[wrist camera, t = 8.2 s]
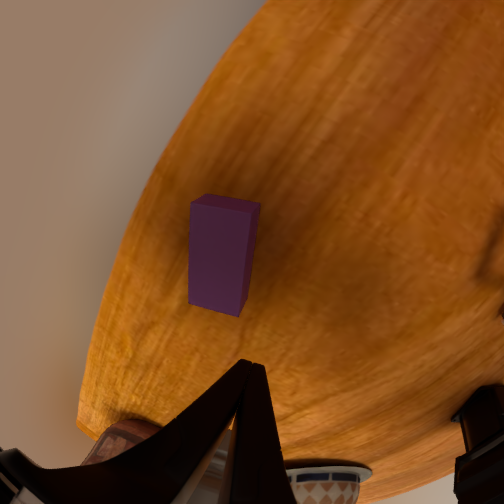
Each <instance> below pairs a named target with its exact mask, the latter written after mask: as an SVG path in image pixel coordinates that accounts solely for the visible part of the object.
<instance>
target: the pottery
mask: <svg viewBox="0 0 504 504" xmlns="http://www.w3.org/2000/svg"><path fill="white" fill-rule="evenodd" d="M160 429H161V428H159V427H157V426H155V425H153V424H150V423H148V422H146V421H142V420H138V419H130V420H122V421H119V422H117V423H114V424H112V425H111V426H110V427H108V428H107V429H106V430H105V431H104V432H103V434H102V435H101V436H100V438H99V439H98V441H97V442H96V444H95V446H94V447H93V449H92V450H91V452H90V453H89V454H88V456H87V457H86V458H85V460H84V461H83V462H82V464H81V465H80V466H82V465H89V464H95V463H99V462H103V461H105V460H108V459H110V458H113V457H115V456H117V455H119V454H120V453H122V452H124V451H126V450H128V449H130V448H131V447H133V446H135V445H137V444H139V443H140V442H142V441H144V440H145V439H147V438H148V437H150V436H152V435H153V434H155V433H156V432H158V431H159V430H160Z"/></svg>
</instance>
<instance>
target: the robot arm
mask: <svg viewBox="0 0 504 504" xmlns="http://www.w3.org/2000/svg"><path fill="white" fill-rule="evenodd" d="M235 413H236V414H235ZM234 416H235V418H234ZM233 418H234V422H233V427H232V433H231V438H230V443H229V448H228V453H227V458H226V463H225V468H224V473H223V478H222V482H221V487H220V492H219V497H218V502H217V504H298V503H297V501H296V498H295V496H294V493H293V490H292V488H291V485H290V482H289V479H288V476H287V473H286V468H285V464H284V460H283V455H282V451H281V446H280V441H279V436H278V431H277V426H276V421H275V416H274V411H273V406H272V401H271V396H270V391H269V386H268V381H267V375H266V370H265V366H264V365H261V364H258V363H253V364H252V362H251V361H248V360H245V359H240V360H239V361H238V362H237V363H236V364H235V365H234V366H232V367H231V368H230V369H229V370H228V371H227V372H226V373H225V374H224V375H223V376H222V377H221V378H220V379H219V380H217V381H216V382H215V383H214V384H213V385H212V386H211V387H210V388H209V389H208V390H206V391H205V392H204V393H203V394H202V395H201V396H200V397H199V398H197V399H196V400H195V401H194V402H193V403H192V404H191V405H189V406H188V407H187V408H186V409H185V410H184V411H182V412H181V413H180V414H179V415H178V416H177V417H176V418H174V419H173V420H172V421H170V422H169V423H168V424H167V425H165V426H164V427H163V428H162V429H160V430H159V431H158V432H156V433H155V434H153V435H152V436H150V437H148V438H147V439H145V440H144V441H142V442H140V443H139V444H137V445H135V446H133V447H131V448H130V449H128V450H126V451H124V452H122V453H120V454H119V455H117V456H115V457H113V458H110V459H108V460H105V461H103V462H99V463H95V464H89V465H82V466H75V467H68V468H59V469H44V468H42V467H40V466H39V465H38V464H36V463H35V462H34V461H32V460H31V459H30V458H29V457H27V456H26V455H25V454H24V453H22V452H21V451H20V450H18V449H17V448H13V449H9V450H5V451H4V450H3V449H2V448H1V447H0V504H186V503H187V501H188V500H189V498H190V496H191V495H192V493H193V491H194V490H195V488H196V486H197V485H198V483H199V481H200V479H201V478H202V476H203V474H204V472H205V471H206V469H207V467H208V465H209V463H210V462H211V460H212V458H213V456H214V454H215V453H216V451H217V449H218V447H219V445H220V443H221V441H222V440H223V438H224V436H225V434H226V432H227V430H228V428H229V426H230V424H231V422H232V420H233ZM451 422H460V424H461V429H462V434H463V438H464V443H465V449H466V453H465V454H463V455H462V456H458V457H457V458H456V463H455V475H454V490H453V492H454V494H456V497H457V499H458V504H504V386H498V387H481V388H479V389H478V390H477V391H476V392H475V393H474V394H473V396H472V397H471V398H470V399H469V400H468V401H467V402H466V403H465V404H464V406H463V407H462V408H461V409H460V410H459V411H458V412H457V413H456V414H455V415H454V416H453V417H452V418H451Z"/></svg>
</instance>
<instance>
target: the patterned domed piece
mask: <svg viewBox="0 0 504 504" xmlns="http://www.w3.org/2000/svg"><path fill="white" fill-rule="evenodd" d="M286 473H287V476H288V479H289V482H290V485H291V488H292V490H293V493H294V496H295V498H296V501H297V503H298V504H356V502H357V499H358V496H359V491H360V484H359V483H361V482H363V481H365V480H367V479H368V478H370V477H371V475H372V472H371V470H368V469H364V468H359V467H345V466H331V467H311V468H301V469H290V470H286Z"/></svg>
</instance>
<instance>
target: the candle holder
mask: <svg viewBox="0 0 504 504" xmlns="http://www.w3.org/2000/svg"><path fill="white" fill-rule="evenodd" d="M231 433H232V431H231V430H227V432H226V434H225V436H224V438H223V440H222V441H221V443H220V445H219V447H218V449H217V451H216V453H215V454H214V456H213V458H212V460H211V462H210V463H209V465H208V467H207V469H206V471H205V472H204V474H203V476H202V478H201V479H200V481H199V483H198V485H197V486H196V488H195V490H194V491H193V493H192V495H191V496H190V498H189V500H188V501H187V503H186V504H217V502H218V497H219V492H220V487H221V482H222V478H223V473H224V468H225V463H226V458H227V453H228V448H229V443H230V438H231Z"/></svg>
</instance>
